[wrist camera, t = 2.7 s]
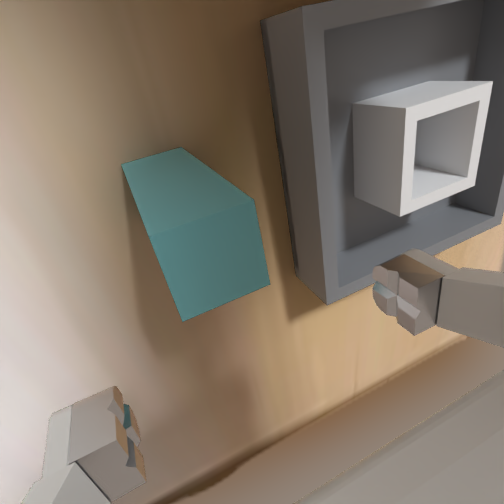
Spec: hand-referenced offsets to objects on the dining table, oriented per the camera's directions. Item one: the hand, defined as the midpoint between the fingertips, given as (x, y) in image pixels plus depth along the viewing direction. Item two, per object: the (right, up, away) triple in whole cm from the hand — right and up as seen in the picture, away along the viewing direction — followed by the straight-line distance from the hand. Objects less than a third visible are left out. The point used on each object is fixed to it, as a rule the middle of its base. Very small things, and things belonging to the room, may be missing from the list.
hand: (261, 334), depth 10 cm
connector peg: (-6, +7, +13) cm, 16 cm away
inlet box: (+11, +12, +19) cm, 25 cm away
